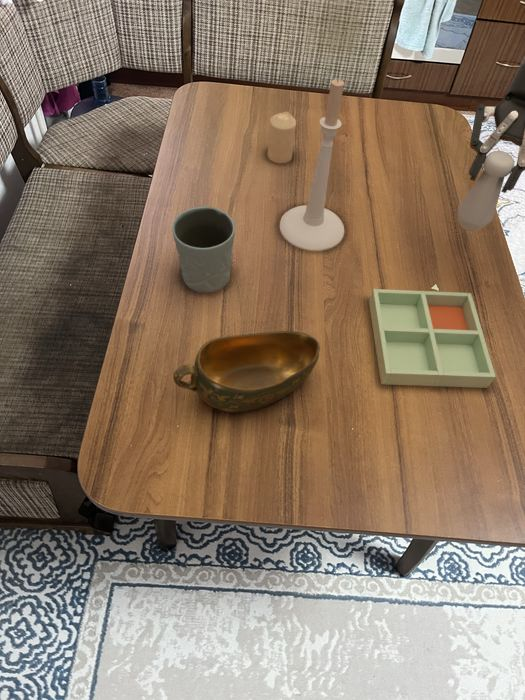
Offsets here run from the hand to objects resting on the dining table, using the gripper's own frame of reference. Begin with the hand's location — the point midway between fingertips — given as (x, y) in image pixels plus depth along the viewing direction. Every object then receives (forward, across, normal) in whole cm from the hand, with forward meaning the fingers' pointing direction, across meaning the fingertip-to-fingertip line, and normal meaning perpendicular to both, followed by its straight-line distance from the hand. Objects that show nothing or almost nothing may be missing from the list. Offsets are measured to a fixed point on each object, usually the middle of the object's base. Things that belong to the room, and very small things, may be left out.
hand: (488, 185), depth 81 cm
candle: (+5, -44, +26) cm, 51 cm away
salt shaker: (+5, 0, +8) cm, 9 cm away
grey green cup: (+32, -37, -1) cm, 49 cm away
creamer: (+43, -18, -12) cm, 48 cm away
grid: (+26, +2, +4) cm, 27 cm away
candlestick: (+16, -27, +14) cm, 35 cm away
